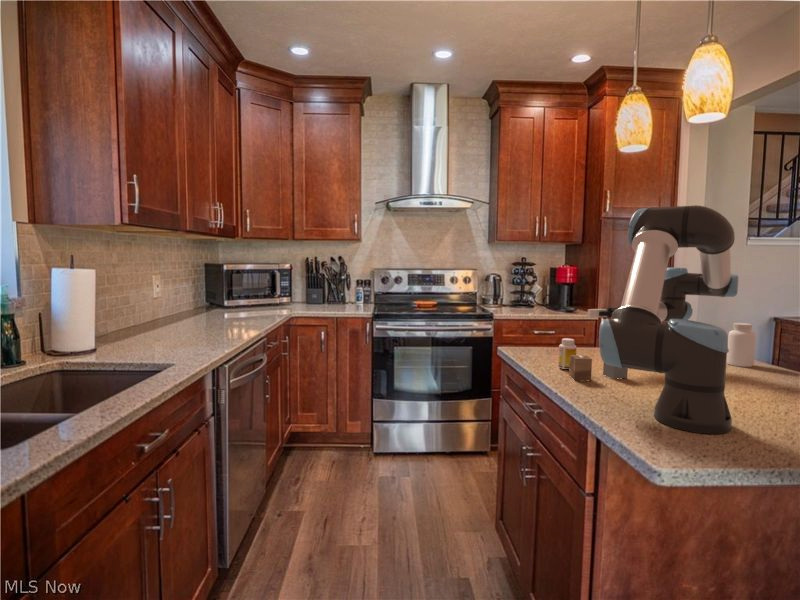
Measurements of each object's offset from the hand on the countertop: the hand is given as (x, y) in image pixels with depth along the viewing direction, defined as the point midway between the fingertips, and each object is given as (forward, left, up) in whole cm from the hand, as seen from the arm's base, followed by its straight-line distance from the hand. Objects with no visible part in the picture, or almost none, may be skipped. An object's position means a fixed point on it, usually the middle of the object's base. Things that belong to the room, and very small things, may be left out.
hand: (589, 313), depth 157 cm
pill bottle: (+10, -58, -19) cm, 62 cm away
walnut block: (-15, +7, -19) cm, 25 cm away
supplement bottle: (-2, +7, -19) cm, 21 cm away
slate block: (-12, -5, -19) cm, 23 cm away
